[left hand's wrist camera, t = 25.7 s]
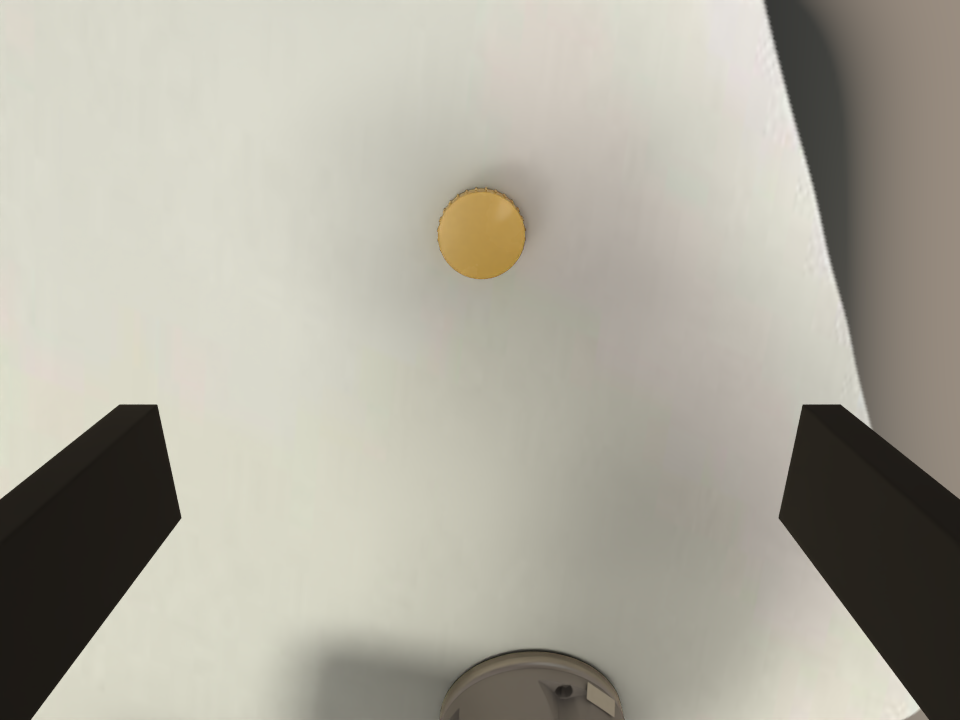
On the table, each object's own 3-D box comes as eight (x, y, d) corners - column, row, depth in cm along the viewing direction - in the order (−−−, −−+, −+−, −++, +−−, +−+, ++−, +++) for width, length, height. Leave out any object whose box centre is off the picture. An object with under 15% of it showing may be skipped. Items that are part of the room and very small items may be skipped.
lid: (531, 262, 38) (534, 269, 36) (450, 281, 38) (449, 289, 36) (514, 177, 36) (515, 180, 34) (429, 198, 36) (426, 202, 34)
